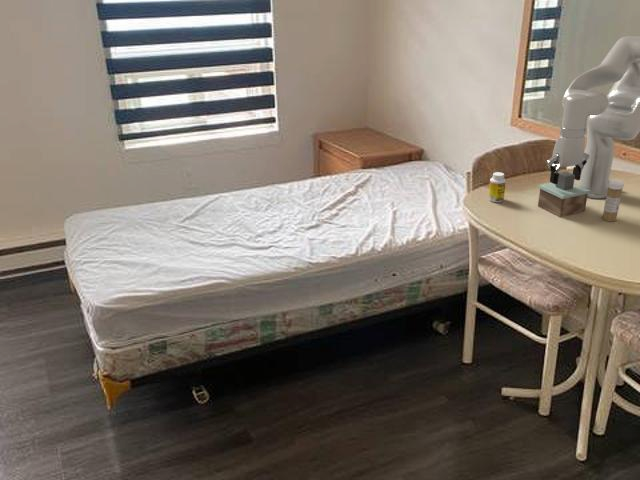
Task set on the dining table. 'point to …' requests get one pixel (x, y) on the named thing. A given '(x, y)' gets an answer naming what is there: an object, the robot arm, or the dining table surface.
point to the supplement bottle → (497, 187)
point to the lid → (564, 187)
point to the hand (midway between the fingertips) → (564, 181)
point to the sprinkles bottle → (612, 200)
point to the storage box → (562, 204)
